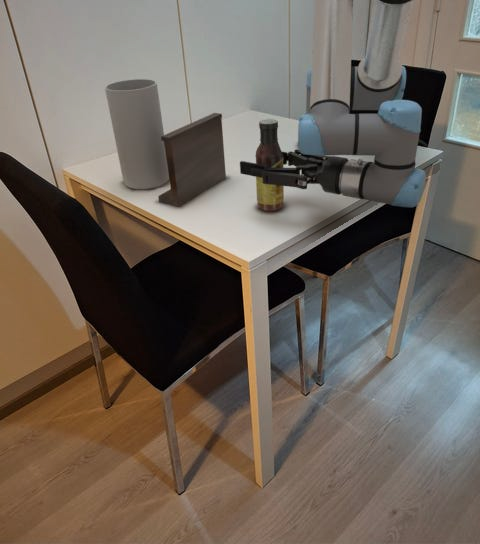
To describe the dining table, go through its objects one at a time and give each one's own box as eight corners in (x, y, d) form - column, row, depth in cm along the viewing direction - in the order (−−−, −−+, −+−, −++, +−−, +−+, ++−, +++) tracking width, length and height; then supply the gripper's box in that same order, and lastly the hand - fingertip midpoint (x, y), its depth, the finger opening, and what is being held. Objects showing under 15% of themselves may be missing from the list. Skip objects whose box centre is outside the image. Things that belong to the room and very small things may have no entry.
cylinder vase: (162, 191, 125) (146, 90, 111) (116, 189, 127) (96, 91, 114) (175, 172, 135) (163, 78, 122) (133, 172, 138) (116, 79, 124)
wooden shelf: (226, 177, 130) (221, 113, 121) (178, 207, 116) (169, 137, 107) (207, 173, 133) (201, 111, 124) (158, 202, 119) (147, 134, 110)
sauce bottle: (281, 213, 111) (281, 126, 100) (255, 212, 112) (251, 126, 101) (285, 201, 116) (284, 117, 105) (259, 200, 117) (256, 117, 106)
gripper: (365, 143, 105) (274, 131, 116) (324, 177, 90) (224, 159, 101) (362, 176, 109) (274, 161, 120) (322, 213, 94) (226, 193, 105)
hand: (251, 160), depth 110 cm, fingers open, 8 cm apart
